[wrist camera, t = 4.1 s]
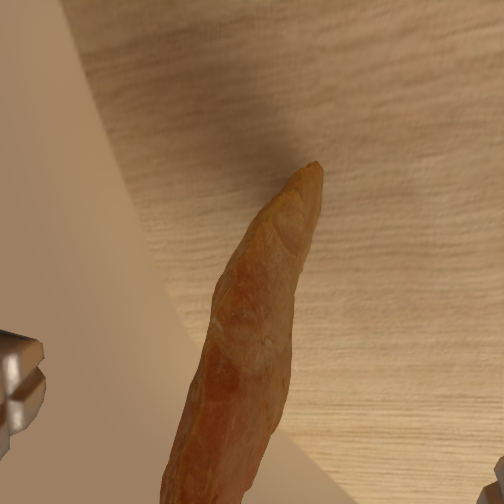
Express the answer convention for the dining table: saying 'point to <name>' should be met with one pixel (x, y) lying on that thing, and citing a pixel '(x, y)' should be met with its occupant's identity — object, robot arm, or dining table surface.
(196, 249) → the dining table surface
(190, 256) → the dining table surface
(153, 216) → the dining table surface
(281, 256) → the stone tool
